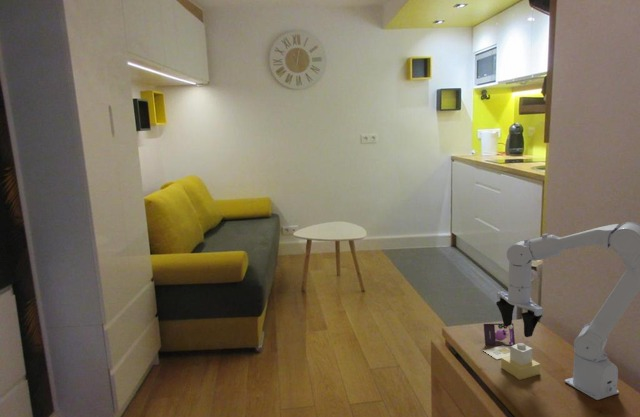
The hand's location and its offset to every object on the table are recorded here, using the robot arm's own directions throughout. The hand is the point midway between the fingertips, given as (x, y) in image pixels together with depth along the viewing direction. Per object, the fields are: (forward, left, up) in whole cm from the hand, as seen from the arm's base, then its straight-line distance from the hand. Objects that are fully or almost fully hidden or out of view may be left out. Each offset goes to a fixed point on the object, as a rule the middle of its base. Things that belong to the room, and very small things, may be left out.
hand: (517, 330), depth 127 cm
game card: (+13, -5, -11) cm, 18 cm away
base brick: (-3, +1, -11) cm, 11 cm away
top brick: (-3, +1, -8) cm, 8 cm away
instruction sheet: (+8, -1, -11) cm, 13 cm away
